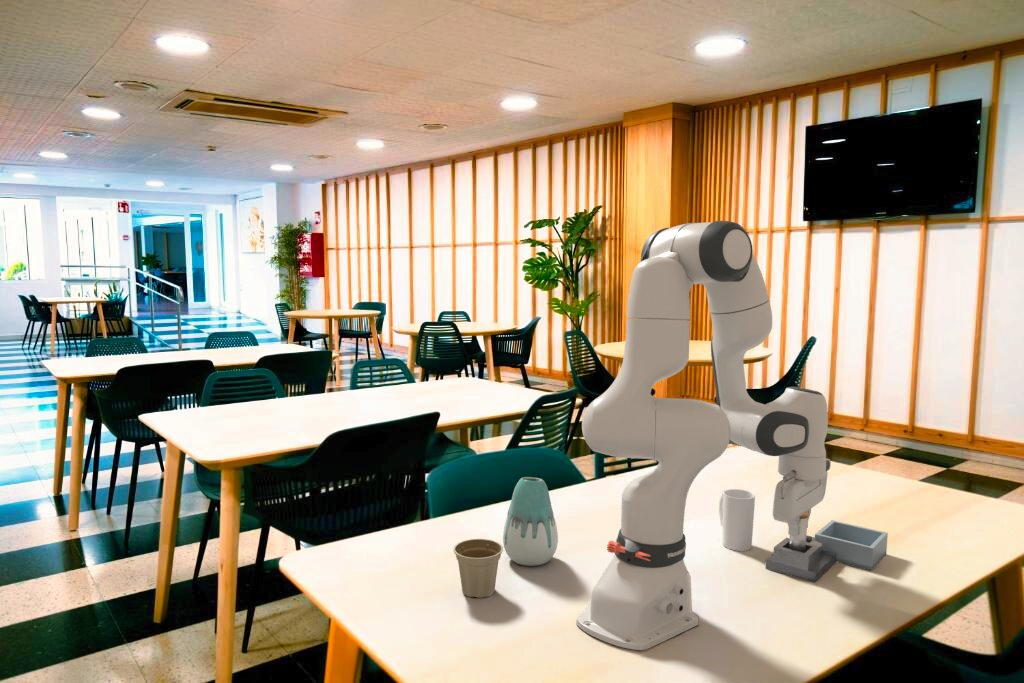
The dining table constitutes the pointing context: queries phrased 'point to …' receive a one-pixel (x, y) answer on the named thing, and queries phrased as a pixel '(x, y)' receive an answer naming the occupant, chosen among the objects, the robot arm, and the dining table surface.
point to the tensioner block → (801, 560)
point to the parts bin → (853, 544)
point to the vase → (530, 524)
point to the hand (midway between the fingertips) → (798, 532)
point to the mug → (737, 518)
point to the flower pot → (478, 566)
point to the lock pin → (800, 535)
